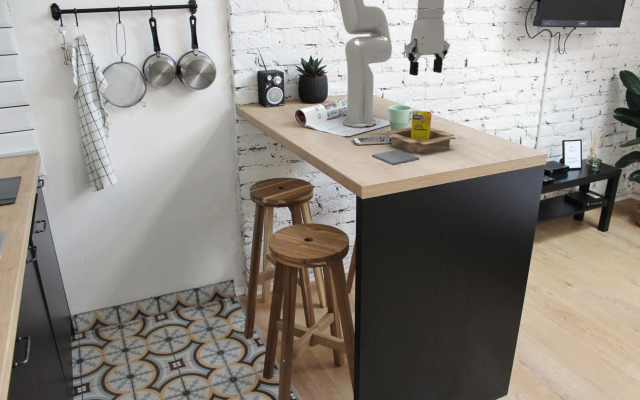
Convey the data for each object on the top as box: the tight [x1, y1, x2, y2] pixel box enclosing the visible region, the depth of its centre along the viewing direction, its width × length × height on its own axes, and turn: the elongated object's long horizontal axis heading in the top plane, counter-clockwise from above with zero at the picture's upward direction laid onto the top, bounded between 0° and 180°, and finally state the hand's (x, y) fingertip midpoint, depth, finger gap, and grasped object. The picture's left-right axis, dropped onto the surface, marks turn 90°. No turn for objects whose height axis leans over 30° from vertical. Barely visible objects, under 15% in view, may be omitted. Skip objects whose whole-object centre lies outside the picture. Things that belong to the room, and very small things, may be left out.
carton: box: [386, 126, 457, 155], centre depth 168 cm, size 18×18×4 cm
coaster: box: [371, 149, 420, 166], centre depth 157 cm, size 10×10×1 cm
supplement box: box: [411, 110, 432, 141], centre depth 167 cm, size 6×6×11 cm
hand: (425, 73), depth 160 cm, fingers open, 9 cm apart
